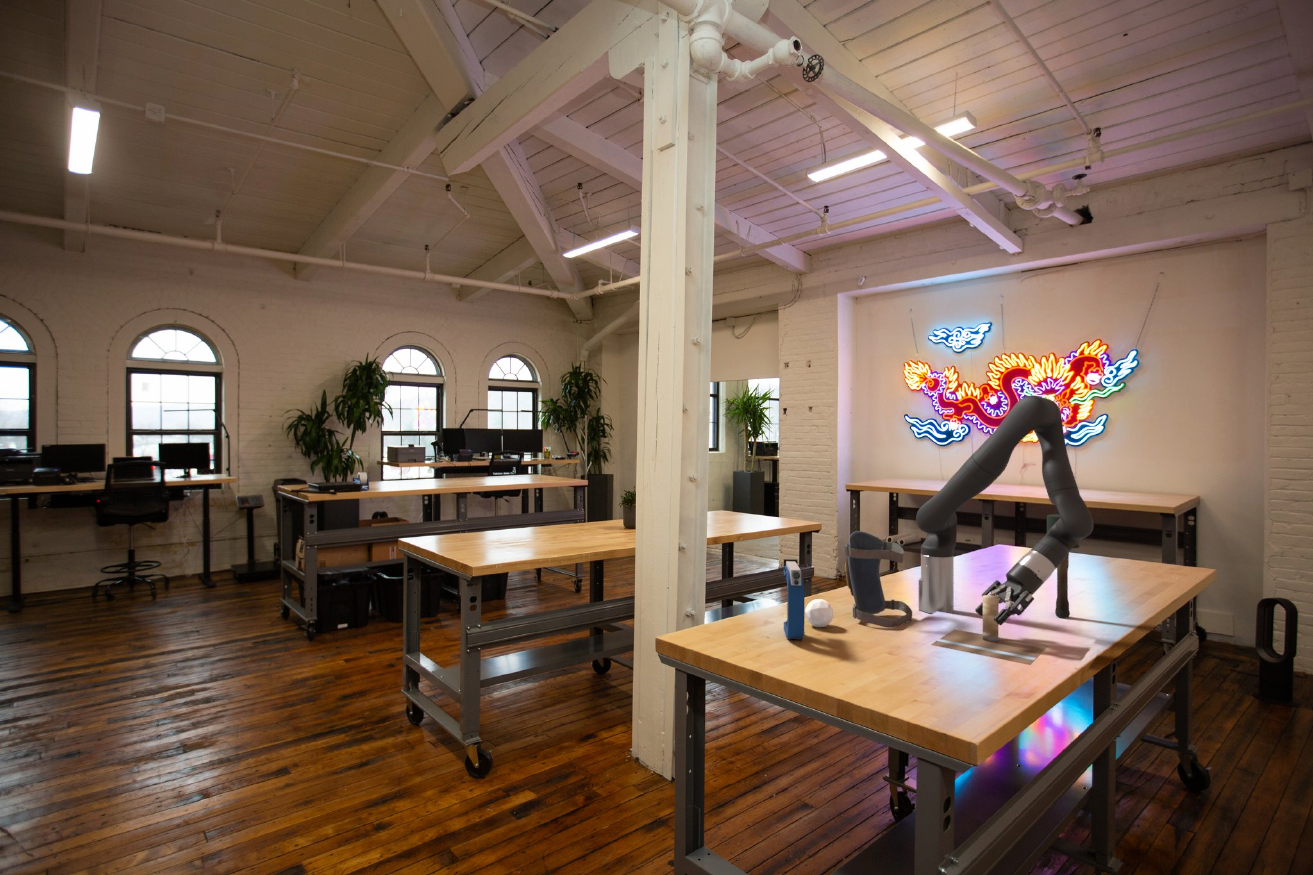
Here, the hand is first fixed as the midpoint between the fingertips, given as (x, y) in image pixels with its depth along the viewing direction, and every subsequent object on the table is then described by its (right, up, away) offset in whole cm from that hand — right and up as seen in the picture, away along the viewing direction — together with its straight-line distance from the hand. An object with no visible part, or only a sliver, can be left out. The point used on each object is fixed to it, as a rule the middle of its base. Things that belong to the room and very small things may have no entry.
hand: (987, 617), depth 168 cm
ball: (-38, -7, +18) cm, 43 cm away
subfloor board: (-2, -7, -4) cm, 9 cm away
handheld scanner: (-48, -7, +9) cm, 49 cm away
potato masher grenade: (+36, -7, +27) cm, 46 cm away
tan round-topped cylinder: (+1, -6, 0) cm, 6 cm away
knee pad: (-20, -7, +25) cm, 33 cm away
